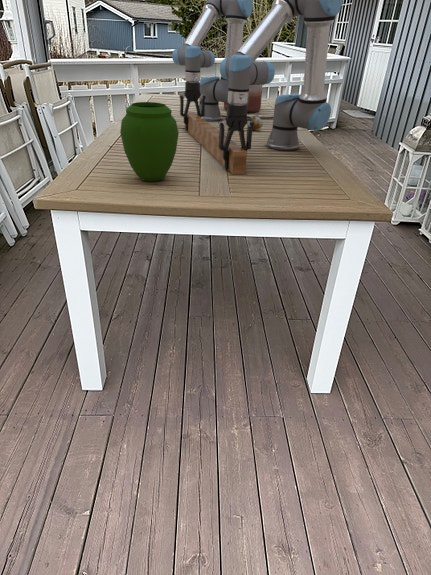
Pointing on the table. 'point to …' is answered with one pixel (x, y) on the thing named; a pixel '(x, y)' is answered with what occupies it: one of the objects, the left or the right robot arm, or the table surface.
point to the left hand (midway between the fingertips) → (192, 130)
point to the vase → (149, 139)
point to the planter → (252, 99)
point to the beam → (216, 143)
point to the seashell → (256, 122)
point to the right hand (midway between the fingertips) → (233, 167)
